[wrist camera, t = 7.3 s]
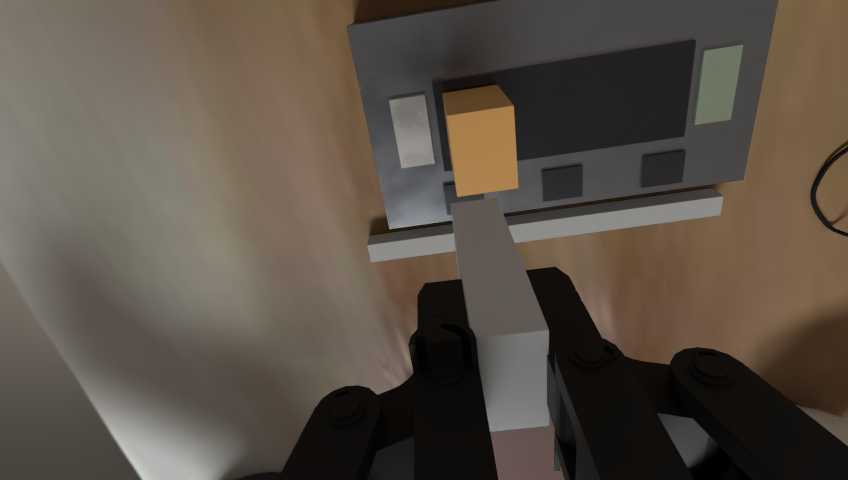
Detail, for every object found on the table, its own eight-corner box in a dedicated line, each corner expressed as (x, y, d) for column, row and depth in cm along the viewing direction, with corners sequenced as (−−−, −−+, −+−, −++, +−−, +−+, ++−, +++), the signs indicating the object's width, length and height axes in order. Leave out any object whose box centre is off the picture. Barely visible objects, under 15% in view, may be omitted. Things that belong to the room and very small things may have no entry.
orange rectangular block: (451, 162, 27) (457, 197, 23) (442, 93, 25) (446, 115, 21) (502, 155, 27) (518, 188, 22) (497, 84, 25) (513, 105, 21)
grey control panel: (391, 209, 32) (389, 230, 29) (353, 22, 27) (345, 26, 24) (715, 163, 31) (745, 181, 28) (749, -45, 25) (790, -49, 22)
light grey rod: (373, 252, 34) (371, 262, 33) (369, 235, 33) (367, 245, 32) (708, 206, 32) (720, 215, 31) (711, 188, 32) (723, 196, 30)
